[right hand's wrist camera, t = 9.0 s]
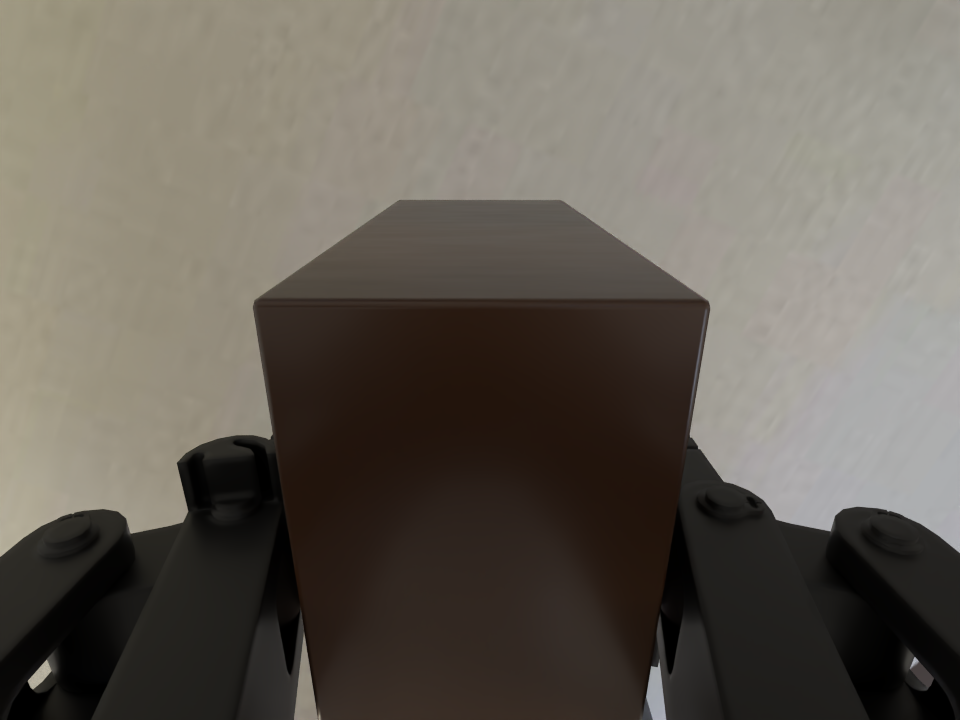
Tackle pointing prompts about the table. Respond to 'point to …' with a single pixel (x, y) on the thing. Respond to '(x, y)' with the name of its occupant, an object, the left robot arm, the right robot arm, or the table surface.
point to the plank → (480, 460)
